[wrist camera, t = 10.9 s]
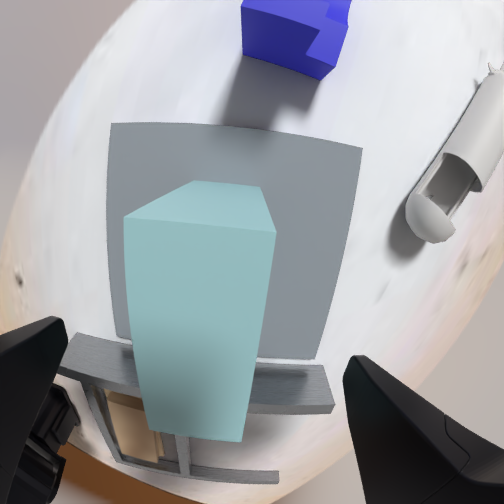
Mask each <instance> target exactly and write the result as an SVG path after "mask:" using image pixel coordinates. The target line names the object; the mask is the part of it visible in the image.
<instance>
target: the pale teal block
mask: <svg viewBox="0 0 504 504" xmlns="http://www.w3.org/2000/svg"><path fill="white" fill-rule="evenodd" d="M276 233H277V232H276V229H275V226H274V224H273V221H272V218H271V215H270V213H269V210H268V207H267V204H266V202H265V199H264V196H263V193H262V191H261V188H260V187H257V186H248V185H239V184H229V183H219V182H208V181H196V180H194V181H192V182H190V183H188V184H185V185H183V186H181V187H179V188H177V189H175V190H173V191H171V192H169V193H168V194H166V195H164V196H162V197H160V198H158V199H156V200H154V201H152V202H150V203H148V204H146V205H145V206H143V207H141V208H139V209H137V210H135V211H134V212H132V213H130V214H128V215H126V216H125V217H124V260H125V278H126V292H127V303H128V313H129V322H130V330H131V338H132V345H133V352H134V358H135V364H136V370H137V376H138V381H139V386H140V391H141V396H142V401H143V405H144V410H145V414H146V418H147V422H148V426H149V430H153V431H158V432H163V433H169V434H174V435H180V436H186V437H193V438H200V439H209V440H218V441H229V442H241V441H242V436H243V431H244V425H245V420H246V415H247V409H248V404H249V398H250V393H251V387H252V381H253V376H254V370H255V364H256V359H257V353H258V347H259V341H260V335H261V329H262V323H263V317H264V311H265V305H266V298H267V292H268V286H269V279H270V273H271V266H272V260H273V253H274V247H275V240H276Z"/></svg>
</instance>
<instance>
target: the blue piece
mask: <svg viewBox="0 0 504 504" xmlns="http://www.w3.org/2000/svg"><path fill="white" fill-rule="evenodd" d="M350 4H351V0H243V2H242V4H241V25H242V48H243V55H245V56H249V57H253V58H256V59H260V60H263V61H267V62H270V63H273V64H276V65H279V66H282V67H285V68H288V69H291V70H294V71H297V72H300V73H302V74H305V75H308V76H310V77H313V78H316V79H318V80H322V79H323V78H324V77H325V76H326V75H327V74H328V73H329V72H330V71H331V70H333V69H334V68H335V67H336V64H337V61H338V57H339V54H340V51H341V48H342V45H343V42H344V39H345V36H346V33H347V30H348V21H347V20H348V12H349V8H350Z"/></svg>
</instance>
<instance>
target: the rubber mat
mask: <svg viewBox="0 0 504 504" xmlns="http://www.w3.org/2000/svg"><path fill="white" fill-rule="evenodd" d="M362 149H363V148H360V147H356V146H351V145H347V144H342V143H338V142H333V141H328V140H323V139H318V138H312V137H307V136H301V135H295V134H289V133H282V132H276V131H268V130H261V129H252V128H243V127H233V126H222V125H209V124H192V123H161V122H137V123H111V130H110V141H109V153H108V169H107V199H106V220H107V251H108V267H109V279H110V290H111V299H112V307H113V315H114V322H115V329H116V335H117V336H118V337H123V338H128V339H132V338H131V330H130V322H129V313H128V303H127V292H126V278H125V260H124V217H125V216H126V215H128V214H130V213H132V212H134V211H135V210H137V209H139V208H141V207H143V206H145V205H146V204H148V203H150V202H152V201H154V200H156V199H158V198H160V197H162V196H164V195H166V194H168V193H169V192H171V191H173V190H175V189H177V188H179V187H181V186H183V185H185V184H188V183H190V182H192V181H194V180H196V181H208V182H219V183H229V184H239V185H248V186H257V187H260V188H261V191H262V193H263V196H264V199H265V202H266V204H267V207H268V210H269V213H270V215H271V218H272V221H273V224H274V226H275V229H276V232H277V233H276V240H275V247H274V253H273V260H272V266H271V273H270V279H269V286H268V292H267V298H266V305H265V311H264V317H263V323H262V329H261V335H260V341H259V347H258V353H257V356H258V357H273V358H291V359H315V357H316V353H317V350H318V347H319V344H320V341H321V337H322V334H323V330H324V327H325V324H326V320H327V317H328V313H329V309H330V306H331V302H332V298H333V295H334V291H335V287H336V283H337V279H338V275H339V271H340V267H341V262H342V258H343V254H344V249H345V245H346V240H347V235H348V231H349V226H350V221H351V216H352V210H353V205H354V200H355V194H356V188H357V182H358V176H359V170H360V163H361V156H362Z"/></svg>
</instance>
